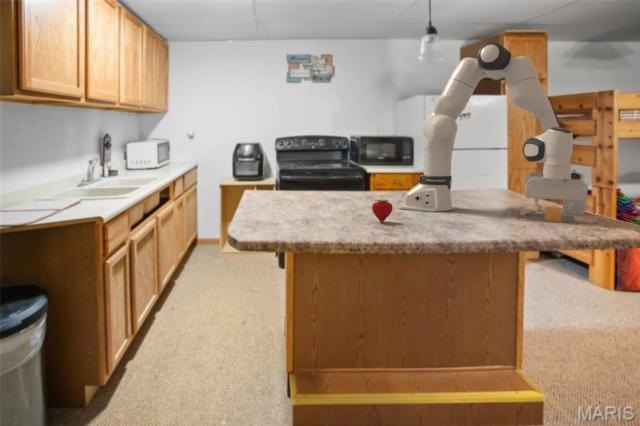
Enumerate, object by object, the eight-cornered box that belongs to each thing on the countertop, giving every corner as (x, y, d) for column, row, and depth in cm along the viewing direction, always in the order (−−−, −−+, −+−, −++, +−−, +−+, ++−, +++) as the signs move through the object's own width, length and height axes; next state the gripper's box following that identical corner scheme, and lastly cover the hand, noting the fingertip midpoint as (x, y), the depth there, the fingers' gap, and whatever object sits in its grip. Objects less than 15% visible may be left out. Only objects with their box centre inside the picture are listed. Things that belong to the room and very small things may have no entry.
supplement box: (582, 217, 189) (585, 185, 186) (561, 215, 193) (564, 183, 191) (585, 214, 194) (588, 183, 192) (565, 212, 199) (568, 181, 197)
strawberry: (393, 223, 176) (393, 196, 174) (371, 223, 176) (372, 195, 174) (391, 220, 182) (392, 193, 180) (371, 220, 182) (371, 193, 180)
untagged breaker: (520, 215, 187) (521, 206, 186) (520, 214, 188) (520, 205, 188) (524, 215, 186) (525, 206, 186) (524, 214, 188) (525, 205, 187)
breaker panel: (516, 222, 178) (517, 217, 178) (516, 215, 193) (517, 210, 193) (578, 227, 171) (579, 221, 171) (573, 219, 186) (573, 213, 185)
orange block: (545, 220, 177) (546, 208, 176) (544, 218, 182) (545, 206, 181) (560, 221, 175) (561, 209, 174) (559, 219, 180) (560, 207, 179)
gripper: (525, 173, 176) (522, 211, 179) (589, 175, 169) (585, 214, 171) (524, 171, 182) (522, 208, 184) (586, 173, 175) (583, 211, 177)
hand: (553, 211), depth 178 cm, fingers open, 8 cm apart
